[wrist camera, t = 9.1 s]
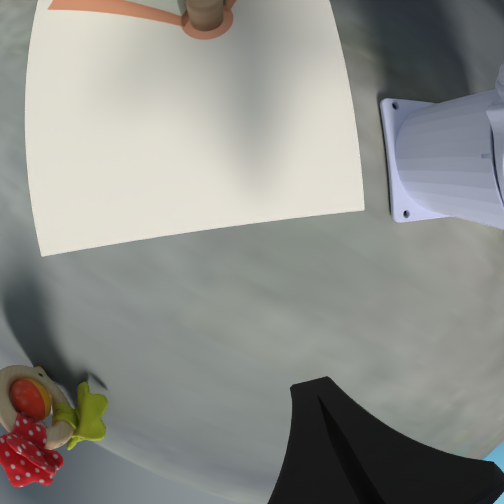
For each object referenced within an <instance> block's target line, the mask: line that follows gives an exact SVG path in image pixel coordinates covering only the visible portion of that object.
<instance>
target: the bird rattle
mask: <svg viewBox="0 0 504 504" xmlns="http://www.w3.org/2000/svg"><path fill="white" fill-rule="evenodd" d="M51 406H52V410H53V416H52V427H48V426H47V424H46V423H45V422H44V420H45V419H46V418H47V417H48V416H49V414H50V411H51ZM107 406H108V400H107V398H106V397H105V396H104V395H101V394H91V393H89V386H88V383H87V382H82V383H80V384H79V385H78V397H77V407H75V409H74V410H73V409H72V408H71V406H70V404H69V402H68V400H67V398H66V397H65V395H64V394H63V392H62V391H61V390H60V388H59V387H58V386H57V385H56V384H55V383H54V382H53V381H52V380H51V379H50V378H49V377H48V376H47V374H46V373H45V371H44V369H43V368H42V367H41V366H36V367H34V368H32V367H28V366H24V365H14V366H8V367H5V368H3V369H2V370H0V422H1V424H2V425H3V426H4V427H5V429H6V430H7V431H8V432H9V433H8V434H5V435H3V436H1V437H0V464H1V465H2V466H3V467H4V469H5V471H6V474H7V476H8V478H9V481H10V483H11V484H12V485H13V486H15V487H22V486H25V485H27V484H29V483H31V482H39V483H41V484H44V485H49V484H51V483H52V481H53V475H55V473H56V470H58V469H60V468H61V467H62V465H63V458H62V456H61V455H60V454H59V453H58V452H57V451H53V450H51V449H55V448H57V447H60V446H62V445H63V444H65V443H66V442H67V441H68V440H69V439H70V440H69V442H68V443H67V445H66V446H67V449H68V450H70V449H72V448H73V447H74V446H75V445H76V443H77V442H80V441H83V440H84V439H86V440H94V441H98V440H101V439H103V437H104V436H105V434H106V427H105V425H104V423H103V421H102V420H101V417H102V415H103V414H104V412H105V411H106V409H107ZM40 422H43V424H44V425H45V426H46V428H45V427H43V426H41V425H38V424H37V423H40Z"/></svg>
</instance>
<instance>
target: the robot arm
mask: <svg viewBox="0 0 504 504" xmlns="http://www.w3.org/2000/svg"><path fill="white" fill-rule="evenodd" d="M495 87H496V89H494V90H489V91H485V92H481V93H476V94H472V95H468V96H464V97H460V98H456V99H453V100H449V101H445V102H442V103H438V104H437V103H430V102H422V101H413V100H403V99H392V98H385V99H383V100H382V101H381V102H380V109H381V116H382V122H383V129H384V137H385V144H386V153H387V162H388V173H389V185H390V201H391V216H392V219H393V220H394V221H395V222H409V221H417V220H425V219H434V218H442V217H451V216H453V217H457V218H461V219H465V220H469V221H473V222H477V223H481V224H485V225H489V226H493V227H496V228H500V229H503V230H504V62H503V63H502V64H501V66H500V68H499V74H498V77H497V79H496V83H495ZM392 103H393V104H394V105H395V106H396V110H395V109H394V108H393V106H392ZM405 210H406V213H407V214H406V216H405V217H404V216H403V213H404V211H405ZM290 391H291V397H292V420H291V429H290V435H289V440H288V445H287V450H286V454H285V458H284V462H283V465H282V468H281V471H280V474H279V477H278V480H277V483H276V485H275V488H274V490H273V493H272V495H271V497H270V499H269V502H268V504H493V503H494V502H495V501H496V500H497V499H498V498H499V497H500V495H501V494H502V493H503V492H504V473H503V472H502V471H501V469H500V468H499V467H498V466H497V465H496V464H495V463H494V462H491V461H484V460H477V459H471V458H465V457H461V456H457V455H453V454H450V453H446V452H443V451H440V450H438V449H435V448H432V447H429V446H427V445H424V444H422V443H419V442H417V441H415V440H413V439H411V438H409V437H407V436H405V435H403V434H401V433H399V432H397V431H396V430H394V429H392V428H391V427H389V426H387V425H386V424H384V423H383V422H381V421H380V420H378V419H377V418H375V417H374V416H373V415H371V414H370V413H369V412H367V411H366V410H365V409H364V408H362V407H361V406H360V405H359V404H357V403H356V402H355V401H354V400H353V399H351V398H350V397H349V396H348V395H347V394H346V393H345V392H344V391H343V390H342V389H341V388H339V387H338V386H337V385H336V383H335V382H334V381H333V380H332V379H331V378H329V377H328V376H326V377H322V378H319V379H315V380H311V381H307V382H302V383H298V384H294V385H292V386H291V387H290Z"/></svg>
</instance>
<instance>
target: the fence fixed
mask: <svg viewBox="0 0 504 504" xmlns="http://www.w3.org/2000/svg"><path fill="white" fill-rule="evenodd" d="M185 2H186V6H187V10H188V15H189V19H190V23H191V25H192V26H193V27H194V28H195V29H196V30H199V31H211V30H214V29H216V28H218V27H219V26H220V25H221V24H222V22H223V5H224V6H226V5H227V3H228V2H229V0H185Z"/></svg>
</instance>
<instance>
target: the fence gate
mask: <svg viewBox="0 0 504 504" xmlns="http://www.w3.org/2000/svg"><path fill="white" fill-rule="evenodd" d="M125 1H129V2H133V3H138V4H142V5H145V6H149V7H153V8H156V9H160V10H163V11H167V12H170V13H173V14H176V15H179V16H182V15H183V13H184V12H185V11H186V10H187V6H186V2H185V0H125Z"/></svg>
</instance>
